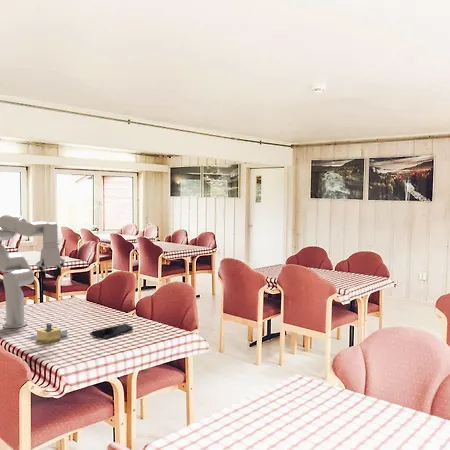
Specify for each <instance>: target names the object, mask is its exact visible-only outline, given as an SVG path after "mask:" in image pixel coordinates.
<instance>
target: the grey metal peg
mask: <svg viewBox="0 0 450 450" xmlns="http://www.w3.org/2000/svg"><path fill="white" fill-rule="evenodd" d="M45 326H46V329H47V331H51V330H52V323H46V324H45Z"/></svg>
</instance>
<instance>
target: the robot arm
mask: <svg viewBox="0 0 450 450" xmlns="http://www.w3.org/2000/svg"><path fill="white" fill-rule="evenodd" d="M58 232H59V231H58V224H57V223H56V222H48V221H47V222H46V221H35V222H34V221H33V222H27V220H26V218H24V217H23V216H22V215H20V214H5V215H2V216H0V241H1V242H4V241H9V240H11V239H13V238H14V237H15V236H16V235H17V234H18V235H19V236H24V237H42V248H41V250H40V257H39V261H37V262H35V265H36V267H37V269H38V270H39V271H40V278H41V279H47V277H46V274H47V273H46V269H47V268H51V267H56V269H55V271H56V272H55V273H56V274H55V275H56V276H59V277H62V268H63V266H64V265H65V262H66V261H65V259H64V258H63V257H61V252H60V248H59V245H60V242H59V241H58V240H59V239H58ZM0 272H3V273H5V274H4V275H3V277H2V282H3V287H4V293H5V317H4V319H3V320H4V321H5V323H3V328H4V329H5V328H6V329H17V328H24V327H26V326H27V325H28V322H27V321H26V320H25V298H24V297H25V296H24V292H23V290H22V288H21V287H23V286H28V285H31V284H33V283H34V281H35V273H34V272H33V270H32V267H31V266H30V265H29V263H28V261H27V259H26V258H25V257H24V256H23V255H22V254H18V253H12V254H10V253H9V252H8V251H7V249H6V247H5V246H4V245H3V244H1V243H0Z"/></svg>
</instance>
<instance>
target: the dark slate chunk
mask: <svg viewBox="0 0 450 450" xmlns="http://www.w3.org/2000/svg"><path fill="white" fill-rule="evenodd" d="M133 328H134V327H133V326H132V325H130V324H127V323H123V324H118V325H114V326H109V327H105V328H100V329H97V330H96V329H95V330H92V331H91V332H90V333H89V336H91V337H94V338H98V339H104V340H107V339H110V338H113V337H114V338H115V337H117V336H119V335H122V333H123V334H125V333H127V332H128V333H129V332H130V331H132V330H133Z"/></svg>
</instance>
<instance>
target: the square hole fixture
mask: <svg viewBox="0 0 450 450" xmlns="http://www.w3.org/2000/svg"><path fill="white" fill-rule="evenodd" d="M70 338H72V337H71V336H68V329H66V328H61V329H60V328H57V327H52V330H51V331H47V329H46V328H42V329H37V330H36V335H32V336H29V337H26V339H27V340H31V341H34V342H39V343H42V344H45V345H51V344H53V343H58V342H60V341H64V340H67V339H70Z"/></svg>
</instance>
